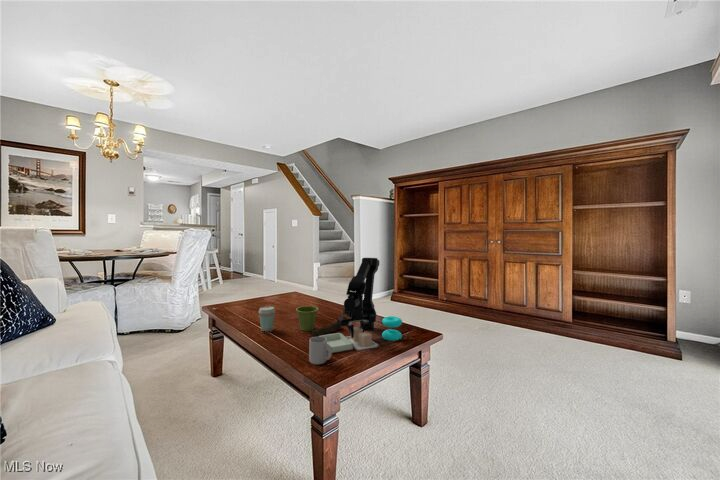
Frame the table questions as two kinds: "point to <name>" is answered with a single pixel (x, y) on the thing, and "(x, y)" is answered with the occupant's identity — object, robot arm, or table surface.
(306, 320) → the plant pot
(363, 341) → the tan rectangular block
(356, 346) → the tray
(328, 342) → the bin
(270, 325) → the coffee cup
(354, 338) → the tan rectangular block
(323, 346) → the cup
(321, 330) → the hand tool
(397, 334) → the donuts
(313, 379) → the table surface
